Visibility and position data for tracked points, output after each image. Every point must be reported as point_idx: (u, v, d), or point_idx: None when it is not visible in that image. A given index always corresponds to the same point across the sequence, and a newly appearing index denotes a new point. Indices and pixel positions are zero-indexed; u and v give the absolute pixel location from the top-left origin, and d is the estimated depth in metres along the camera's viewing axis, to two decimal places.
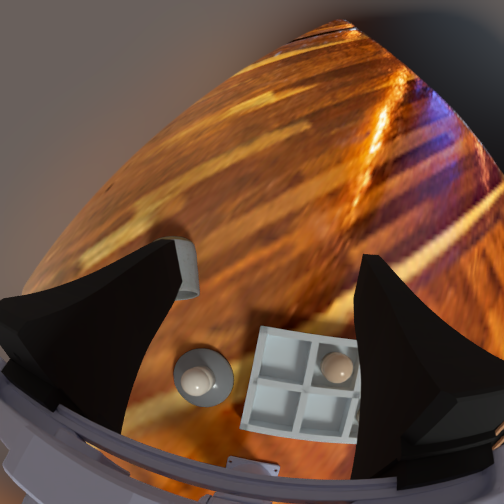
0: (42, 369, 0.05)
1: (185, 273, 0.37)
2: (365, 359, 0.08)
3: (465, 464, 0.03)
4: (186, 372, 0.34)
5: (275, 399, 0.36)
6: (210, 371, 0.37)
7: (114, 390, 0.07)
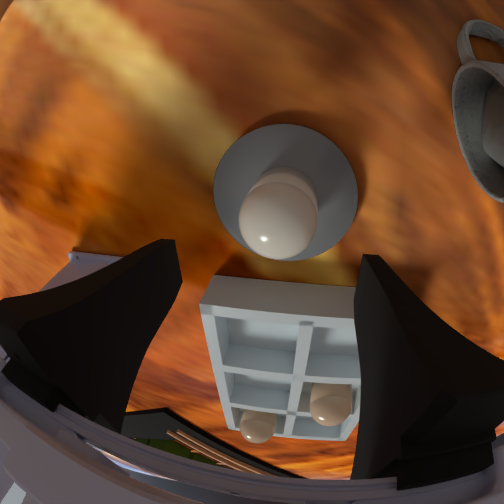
0: (42, 369, 0.05)
1: None
2: (365, 359, 0.08)
3: (465, 464, 0.03)
4: (302, 207, 0.13)
5: (271, 325, 0.23)
6: None
7: (114, 390, 0.07)
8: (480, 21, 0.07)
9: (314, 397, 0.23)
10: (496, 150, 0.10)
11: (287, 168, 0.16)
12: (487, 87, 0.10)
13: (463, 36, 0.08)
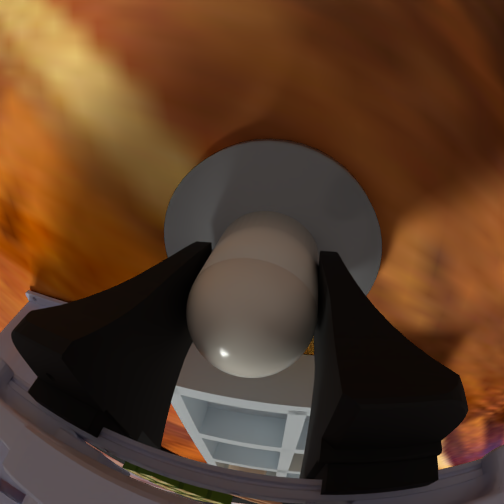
0: (87, 394, 0.04)
1: None
2: (317, 356, 0.08)
3: (401, 477, 0.03)
4: (290, 311, 0.07)
5: None
6: None
7: (156, 405, 0.07)
8: None
9: None
10: None
11: (271, 216, 0.10)
12: None
13: None
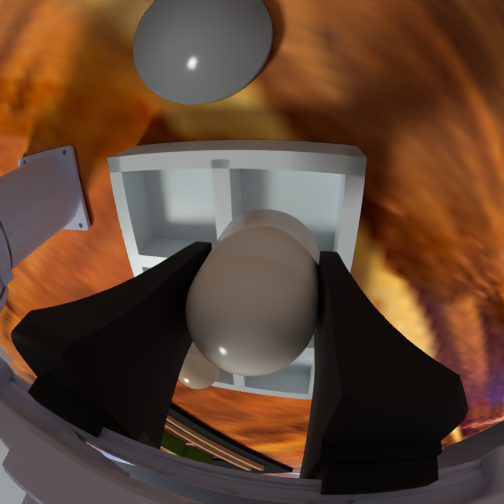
0: (87, 393, 0.04)
1: None
2: (317, 356, 0.08)
3: (401, 477, 0.03)
4: (290, 308, 0.07)
5: (195, 200, 0.19)
6: None
7: (156, 405, 0.07)
8: None
9: None
10: None
11: (270, 214, 0.10)
12: None
13: None
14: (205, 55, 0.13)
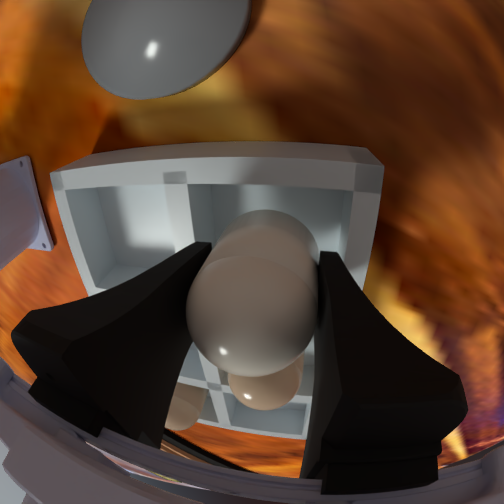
0: (88, 393, 0.04)
1: None
2: (317, 356, 0.08)
3: (401, 477, 0.03)
4: (290, 309, 0.07)
5: (157, 221, 0.14)
6: None
7: (156, 405, 0.07)
8: None
9: None
10: None
11: (271, 214, 0.10)
12: None
13: None
14: (162, 34, 0.09)
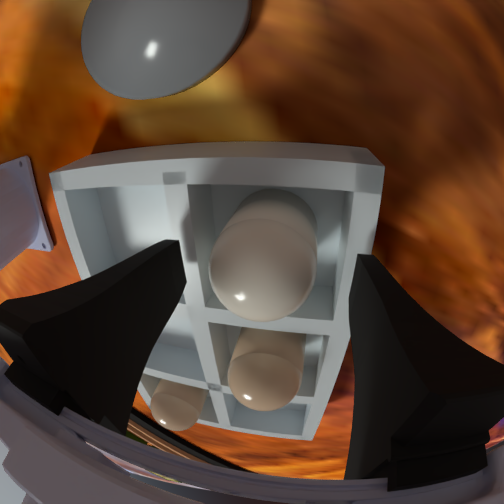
0: (47, 372, 0.04)
1: None
2: (359, 359, 0.08)
3: (457, 466, 0.03)
4: (295, 257, 0.09)
5: (157, 221, 0.14)
6: None
7: (119, 392, 0.07)
8: None
9: (233, 356, 0.14)
10: None
11: (277, 192, 0.12)
12: None
13: None
14: (161, 34, 0.09)
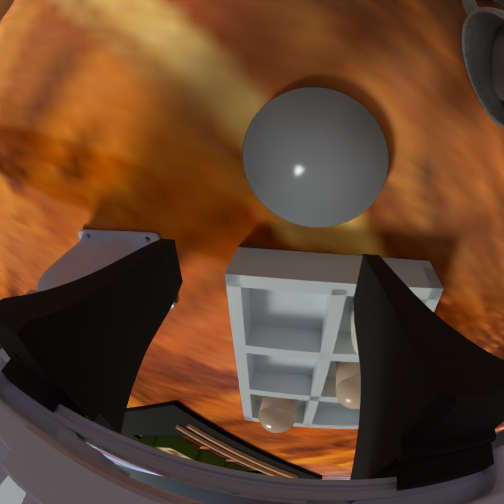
0: (41, 369, 0.05)
1: None
2: (365, 359, 0.08)
3: (465, 464, 0.03)
4: None
5: (297, 300, 0.22)
6: None
7: (114, 390, 0.07)
8: None
9: (341, 378, 0.22)
10: None
11: None
12: (493, 39, 0.08)
13: None
14: (325, 182, 0.17)
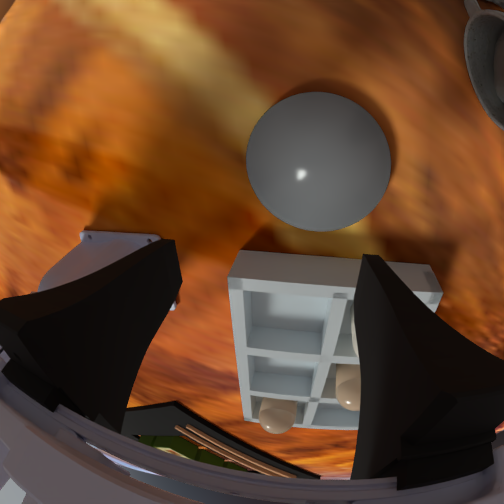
0: (42, 369, 0.05)
1: None
2: (365, 359, 0.08)
3: (465, 464, 0.03)
4: None
5: (298, 303, 0.22)
6: None
7: (114, 390, 0.07)
8: None
9: (341, 380, 0.22)
10: None
11: None
12: (495, 41, 0.08)
13: None
14: (328, 187, 0.17)
